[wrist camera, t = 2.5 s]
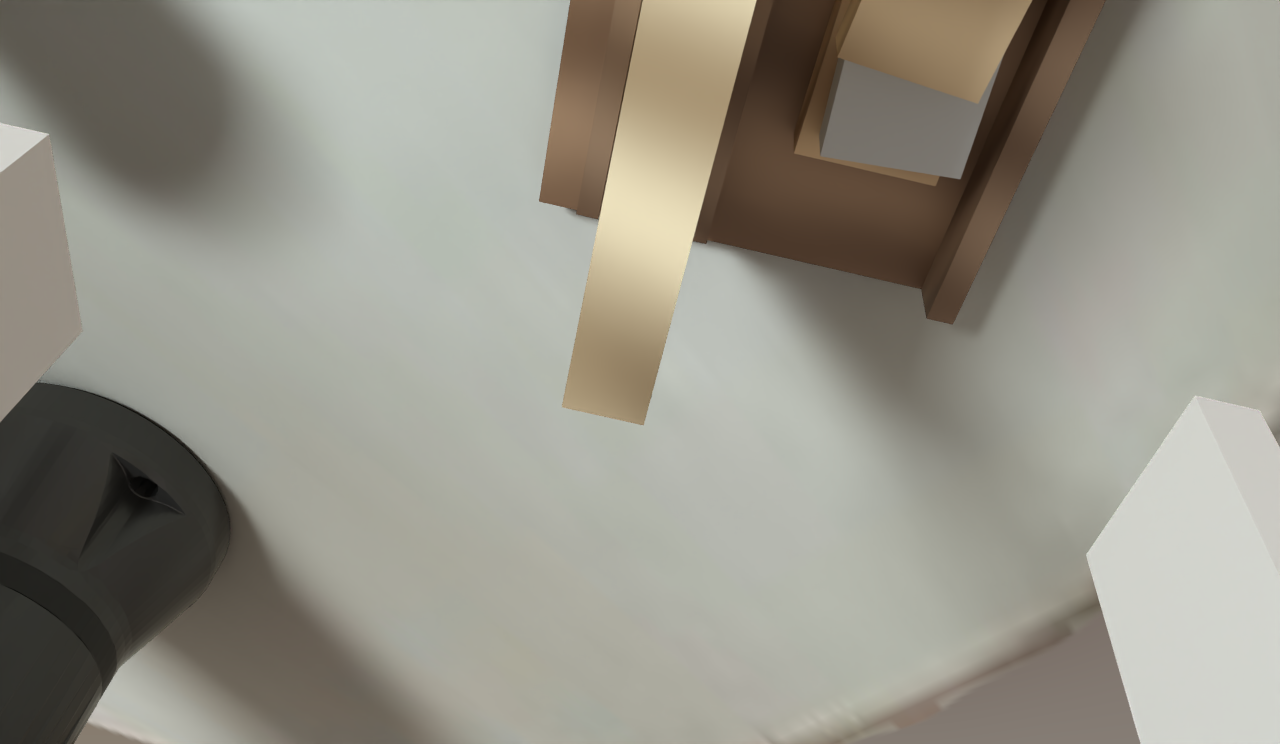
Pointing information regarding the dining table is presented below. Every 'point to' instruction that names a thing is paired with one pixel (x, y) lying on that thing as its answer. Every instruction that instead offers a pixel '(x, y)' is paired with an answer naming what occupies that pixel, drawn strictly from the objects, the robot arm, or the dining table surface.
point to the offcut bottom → (817, 101)
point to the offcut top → (931, 40)
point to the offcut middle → (898, 122)
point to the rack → (812, 188)
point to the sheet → (653, 198)
